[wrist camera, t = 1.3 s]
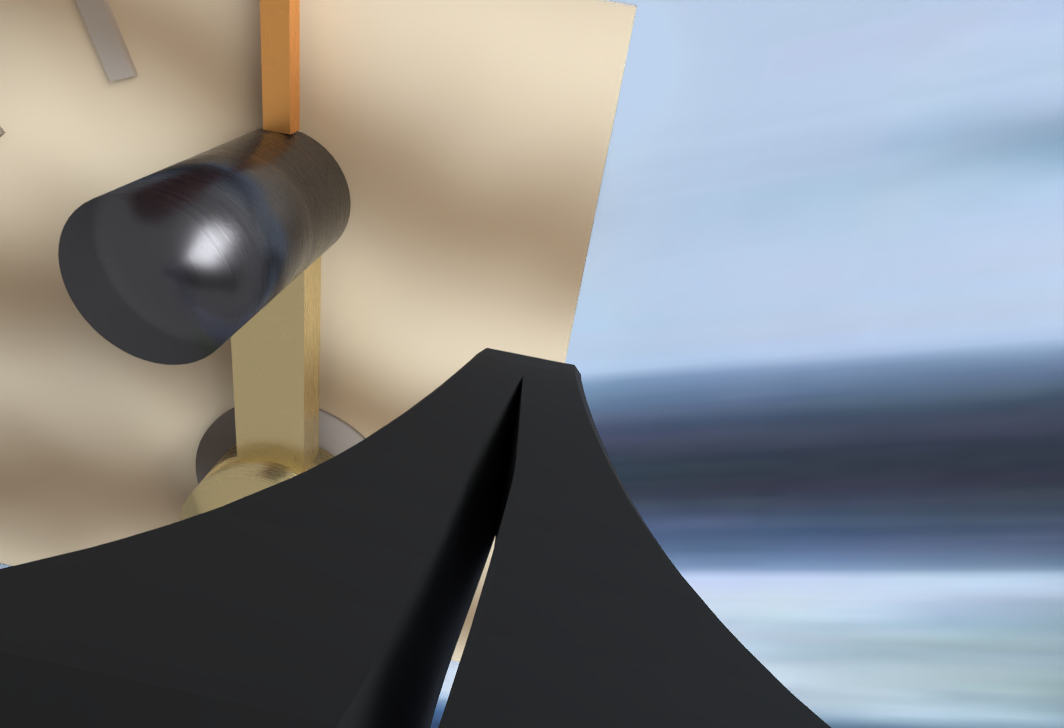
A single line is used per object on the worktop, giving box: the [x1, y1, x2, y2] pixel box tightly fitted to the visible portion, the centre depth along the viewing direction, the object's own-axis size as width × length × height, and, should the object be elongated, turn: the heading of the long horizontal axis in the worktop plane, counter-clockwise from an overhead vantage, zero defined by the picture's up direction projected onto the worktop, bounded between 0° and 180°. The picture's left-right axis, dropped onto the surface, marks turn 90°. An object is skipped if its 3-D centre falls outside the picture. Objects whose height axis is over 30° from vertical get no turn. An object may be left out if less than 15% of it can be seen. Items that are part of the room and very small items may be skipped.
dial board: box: [0, 0, 637, 662], centre depth 20 cm, size 20×21×1 cm
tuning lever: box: [58, 0, 351, 521], centre depth 16 cm, size 16×4×6 cm, turn 171°
